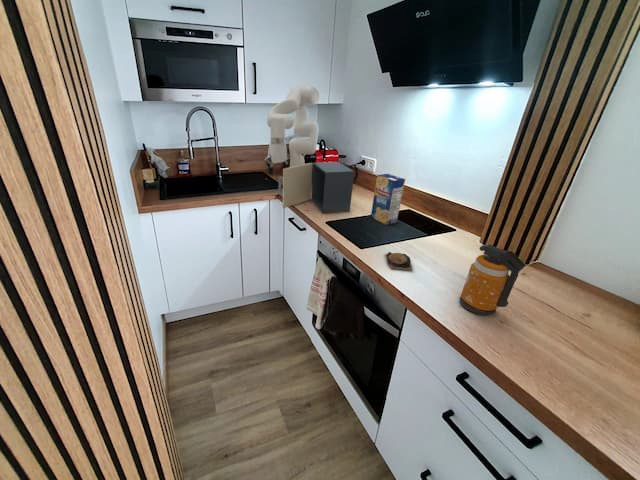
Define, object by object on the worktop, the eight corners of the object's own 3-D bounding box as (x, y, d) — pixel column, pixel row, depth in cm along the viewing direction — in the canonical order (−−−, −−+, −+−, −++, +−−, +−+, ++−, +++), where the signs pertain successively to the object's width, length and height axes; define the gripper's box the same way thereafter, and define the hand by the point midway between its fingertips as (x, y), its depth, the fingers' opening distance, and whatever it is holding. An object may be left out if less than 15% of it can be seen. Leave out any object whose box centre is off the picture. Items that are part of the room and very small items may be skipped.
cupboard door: (274, 204, 160) (275, 166, 151) (301, 196, 174) (303, 160, 165) (283, 208, 155) (284, 169, 147) (310, 199, 169) (312, 163, 160)
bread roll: (413, 272, 101) (415, 263, 99) (388, 269, 102) (390, 260, 101) (407, 256, 111) (409, 248, 109) (384, 254, 112) (386, 246, 110)
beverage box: (386, 225, 137) (394, 180, 128) (370, 216, 146) (377, 175, 137) (396, 222, 140) (405, 179, 131) (380, 214, 149) (387, 173, 140)
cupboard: (323, 213, 150) (326, 172, 141) (311, 199, 170) (313, 162, 161) (349, 211, 152) (354, 171, 143) (335, 198, 172) (338, 161, 163)
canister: (466, 293, 90) (486, 237, 82) (507, 312, 82) (533, 253, 74) (453, 304, 85) (472, 245, 77) (495, 326, 77) (522, 264, 69)
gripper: (286, 138, 155) (285, 168, 163) (260, 141, 146) (260, 173, 153) (295, 139, 150) (294, 171, 157) (268, 143, 140) (269, 177, 148)
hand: (277, 172), depth 155 cm, fingers open, 9 cm apart
